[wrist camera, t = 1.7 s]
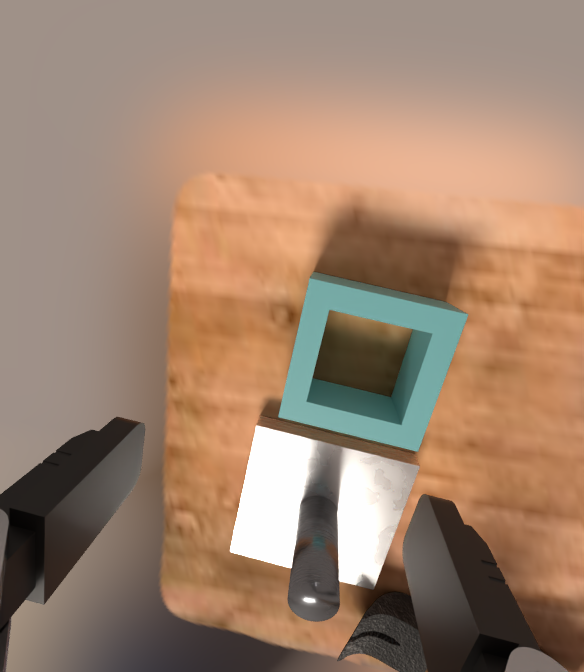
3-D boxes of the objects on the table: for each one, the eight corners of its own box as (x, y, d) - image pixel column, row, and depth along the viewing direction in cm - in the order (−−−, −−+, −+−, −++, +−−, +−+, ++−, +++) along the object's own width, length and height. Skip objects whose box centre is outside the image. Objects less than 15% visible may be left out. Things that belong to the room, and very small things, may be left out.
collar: (446, 301, 24) (468, 314, 20) (405, 420, 26) (417, 451, 22) (313, 271, 24) (309, 278, 20) (286, 390, 26) (278, 417, 23)
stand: (415, 453, 27) (451, 549, 19) (371, 573, 30) (386, 697, 22) (260, 415, 27) (229, 491, 19) (234, 536, 31) (199, 645, 23)
